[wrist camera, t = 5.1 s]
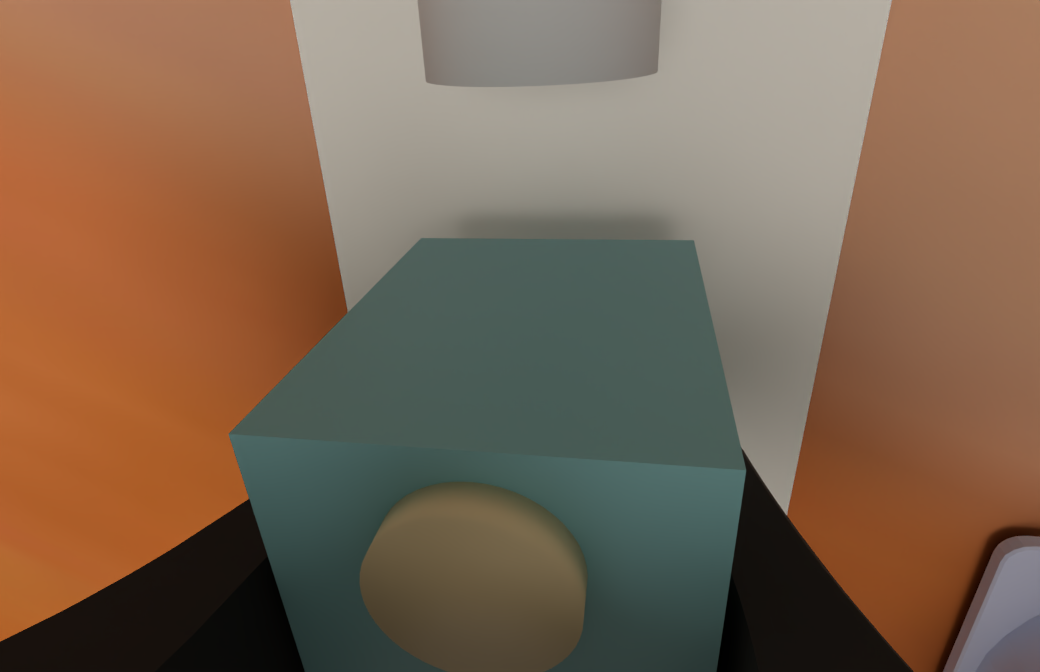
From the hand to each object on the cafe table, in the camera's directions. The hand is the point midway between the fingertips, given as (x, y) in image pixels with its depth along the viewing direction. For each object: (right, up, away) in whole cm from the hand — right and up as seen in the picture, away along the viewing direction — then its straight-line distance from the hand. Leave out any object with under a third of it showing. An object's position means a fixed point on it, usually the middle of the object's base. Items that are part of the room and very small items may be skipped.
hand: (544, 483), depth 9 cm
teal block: (0, +1, +1) cm, 2 cm away
